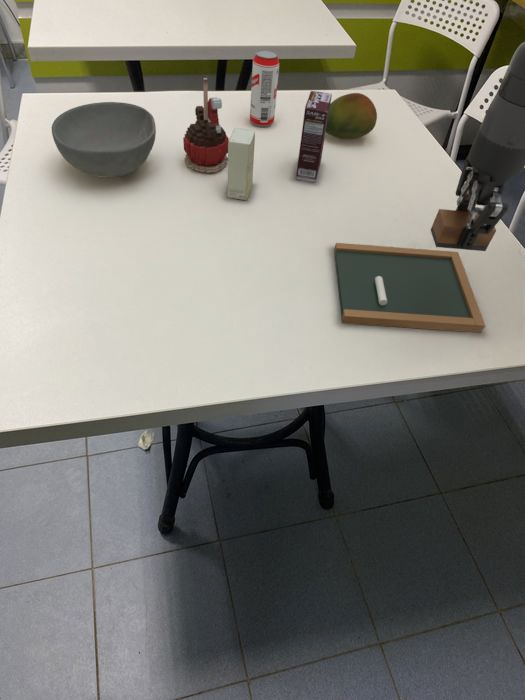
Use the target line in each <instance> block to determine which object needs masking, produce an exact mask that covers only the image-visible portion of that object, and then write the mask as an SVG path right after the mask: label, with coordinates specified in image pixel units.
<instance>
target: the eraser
mask: <svg viewBox="0 0 525 700" xmlns="http://www.w3.org/2000/svg"><path fill="white" fill-rule="evenodd" d="M478 216H479V215H476V216H475V219H474V221H475V220H476V219H477V218H478ZM468 217H469V212H467V211H456V209H444V208H439V209H438V210H437V214H436V216H435V219H434V221H433V223H432V225H431V226H430V227H431V228H430V233H431V236H432V239H433V242H434V245H435V248H443V249H456V250H461V249H460V248H458V246H457V242H458V240H459V238H460V236H461V234H462V232H463V229H464V227H465V226H466V223H467V220H468ZM496 232H497V229H496V226H495V227H494V228H493V229H492V230H491V232H490V233H489V234H478V236H477V238H476V240H475V242H474V244H473V246H472V247H471V248H470V249H464V250H465V251H477V252H486V251H487V249H488V248H489V245H490V243H491V242H492V239H493V238H494V236H495V234H496Z"/></svg>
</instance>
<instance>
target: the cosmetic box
mask: <svg viewBox="0 0 525 700" xmlns="http://www.w3.org/2000/svg"><path fill="white" fill-rule="evenodd" d="M233 128H234V129H233V130H232V132H231V133H230V136H229V141H228V153H227V158H228V161H227V193H226V194H227V198H229V199H236V200H243V201H247V200H248V198H249V195H250V193H251V191H252V188H253V182H254V181H253V180H254V179H253V177H254V161H255V145H256V144H255V143H256V142H255V141H256V131H255V130H252V129H246V128H239V127H233Z"/></svg>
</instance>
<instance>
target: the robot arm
mask: <svg viewBox="0 0 525 700" xmlns="http://www.w3.org/2000/svg"><path fill="white" fill-rule="evenodd" d="M507 66H508V67H507V69H506V71H505V74H504V76H503V78H502V79H501V82H500V85H499V87H498V90H497V91H496V93H495V95H494V98H492V100H491V102H490V104H489V105H488V107H487V110H486V112H485V115H484V117H483V119H482V121H481V124H480V126H479V129H478V131H477V133H476V136H475V138H474V139H473V140H474V141H473V143H472V145H471V148H470V150H469V153H468V155H467V156H466V158H465V160H464V164H463V166H462V167H463V168H462V170H461V173H460V176H459V180H458V183H457V187H456V190H455V196H456V197H457V200H456V206H457V207H456V209H455V210H456V211H467V212H469V217H468V220H467V223H466V226H465V227H464V229H463V232H462V234H461V236H460V238H459V240H458V242H457V246H458V248H460V249H459V250H465V249H470V248H471V247H472V246H473V244H474V242H475V240H476V238H477V236H478V234H489V233H490V232H491V230H492V229H493V228H494V227H495V228H496V226H497V225H498V223H499V222H500V220H502V218H503V216H505V214H506V213H507V211H508V209H509V204H508V203H506V202H505V203H504V202H502V199H501V197H502V196H503V194H504V191H505V187H506V184H507V182H508V181H509V180H510V179H513V178H514V177H515V178H516V177H518V176H519V175H520V174H521V173H522V172H523V170H524V169H525V41H523V42H521V44H519V46H517V48H516V49H515V51H514V53H513V55H512V57H511V59H510V62H509V64H508V65H507ZM477 206H483V207H477ZM476 215H479V216H478V218H477V219H476V220H475V221H474V219H475V216H476Z"/></svg>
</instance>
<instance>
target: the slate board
mask: <svg viewBox="0 0 525 700" xmlns="http://www.w3.org/2000/svg"><path fill="white" fill-rule="evenodd" d="M333 251H334V261H335V269H336V271H335V272H336V278H337V287H338V296H339V304H340V313H341V321H342V322H341V323H342V324H349V325H350V324H351V325H365V326H377V327H395V328H407V329H408V328H409V329H423V330H426V329H427V330H436V331H437V330H438V331H439V330H440V331H453V332H464V333H465V332H466V333H467V332H469V333H482V332H483V330H484V328H485V327H486V324H485V321H484V319H483V316H482V313H481V310H480V307H479V305H478V302H477V300H476V297H475V294H474V291H473V289H472V285H471V284H470V283H471V282H470V281H469V278H468V275H467V272H466V269H465V266H464V264H463V261H462V259H461V256H460V253H459V251H450V250H437V249H425V248H424V249H422V248H413V247H412V248H411V247H397V246H386V245H385V246H384V245H383V246H382V245H373V244H360V243H359V244H358V243H347V242H346V243H345V242H336V243H335V245H334V248H333ZM377 276H381V277H382V278H383V283H384V288H385V292H386V297H387V304H386V305H383V306H382V305H380V304H379V301H378V295H377V290H376V285H375V278H376V277H377Z"/></svg>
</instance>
